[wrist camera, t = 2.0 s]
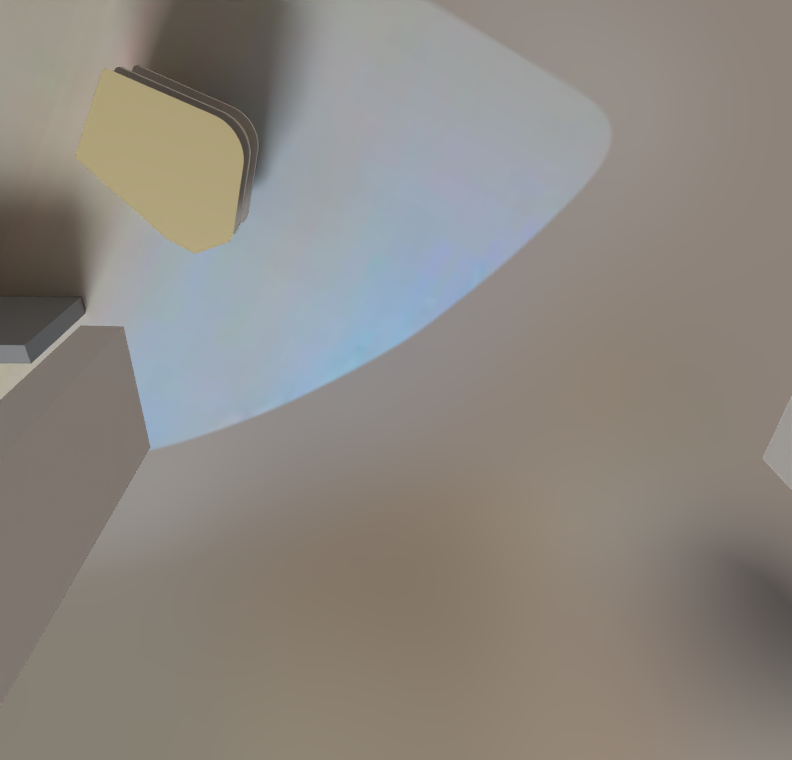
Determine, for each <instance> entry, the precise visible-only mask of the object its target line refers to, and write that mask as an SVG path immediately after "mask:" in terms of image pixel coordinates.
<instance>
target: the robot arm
mask: <svg viewBox="0 0 792 760" xmlns="http://www.w3.org/2000/svg"><path fill="white" fill-rule="evenodd" d="M149 449H150V444H149V439H148V435H147V430H146V426H145V421H144V417H143V412H142V408H141V403H140V399H139V394H138V390H137V385H136V381H135V376H134V372H133V367H132V363H131V358H130V354H129V349H128V345H127V340H126V336H125V331H124V327H115V326H80V327H79V328H78V329H77V330H76V331H74V332H73V333H72V334H71V335H70V336H69V337H68V338H67V339H66V340H65V341H64V342H63V343H61V344H60V345H59V346H58V347H57V348H56V349H55V350H54V351H53V352H52V353H51V354H50V355H49V356H47V357H46V358H45V359H44V360H43V361H42V362H41V363H40V364H39V365H38V366H37V367H36V368H34V369H33V370H32V371H31V372H30V373H29V374H28V375H27V376H26V377H25V378H24V379H23V380H21V381H20V382H19V383H18V384H17V385H16V386H15V387H14V388H13V389H12V390H11V391H10V392H8V393H7V394H6V395H5V396H4V397H3V398H2V399H1V400H0V707H1V705H2V703H3V702H4V700H5V698H6V696H7V695H8V693H9V691H10V689H11V688H12V686H13V684H14V682H15V681H16V679H17V677H18V675H19V674H20V672H21V670H22V668H23V667H24V665H25V663H26V661H27V660H28V658H29V656H30V655H31V653H32V651H33V650H34V648H35V646H36V644H37V642H38V641H39V639H40V637H41V636H42V634H43V632H44V630H45V628H46V627H47V625H48V624H49V622H50V620H51V618H52V616H53V615H54V613H55V611H56V610H57V608H58V606H59V604H60V603H61V601H62V599H63V598H64V596H65V594H66V592H67V590H68V589H69V587H70V585H71V584H72V582H73V580H74V579H75V577H76V575H77V573H78V571H79V569H80V568H81V566H82V564H83V563H84V561H85V559H86V558H87V556H88V554H89V552H90V551H91V549H92V547H93V546H94V544H95V542H96V540H97V539H98V537H99V535H100V533H101V532H102V530H103V528H104V527H105V525H106V523H107V521H108V520H109V518H110V516H111V514H112V513H113V511H114V509H115V507H116V506H117V504H118V502H119V501H120V499H121V497H122V495H123V493H124V492H125V490H126V488H127V487H128V485H129V483H130V481H131V480H132V478H133V476H134V474H135V473H136V471H137V469H138V468H139V466H140V464H141V462H142V461H143V459H144V457H145V455H146V454H147V452H148V450H149ZM763 460H765V462H766V463H767V464H768V465H769V466H770V467H771V468H772V469H773V471H774V472H775V473H776V474H777V475H778V476H779V477H780V478H781V479H782V480H783V481H784V482H785V483H786V484H787V486H789V488H790V489H791V490H792V397H791V398H790V401H789V403H788V405H787V407H786V409H785V411H784V414H783V416H782V418H781V420H780V422H779V424H778V426H777V428H776V431H775V433H774V435H773V437H772V439H771V441H770V443H769V445H768V448H767V450H766V452H765V454H764V456H763Z"/></svg>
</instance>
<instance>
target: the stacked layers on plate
mask: <svg viewBox="0 0 792 760" xmlns="http://www.w3.org/2000/svg"><path fill="white" fill-rule="evenodd" d="M258 150H259V142H258V136H257V133H256V130H255V128H254V126H253V124H252V123H251V121H250V120H249V118H248V117H247V116H246V115H245V114H244V113H243V112H241V111H240V110H238V109H237V108H235V107H233V106H231V105H228V104H226V103H224V102H222V101H219V100H217V99H215V98H213V97H210V96H208V95H206V94H203V93H201V92H199V91H197V90H194V89H192V88H190V87H188V86H185V85H183V84H181V83H179V82H176V81H174V80H172V79H169V78H167V77H165V76H163V75H160V74H158V73H156V72H154V71H151V70H149V69H147V68H145V67H142V66H140V65H136V66H134V67H133V70H132V71H130V70H128V69H125V68H123V67H117V68H116V69H115V71H111V70H109V69H106V68H105V69H103V70H102V73H101V76H100V79H99V82H98V85H97V88H96V91H95V95H94V98H93V101H92V104H91V107H90V110H89V114H88V117H87V120H86V123H85V126H84V129H83V133H82V136H81V139H80V142H79V145H78V148H77V151H76V158H77V160H79V161H80V162H81V163H82V164H83V165H84V166H85V167H86V168H88V169H89V170H90V171H91V172H92V173H93V174H94V175H95V176H97V177H98V178H99V179H100V180H101V181H102V182H103V183H104V184H106V185H107V186H108V187H109V188H110V189H111V190H112V191H113V192H115V193H116V194H117V195H118V196H119V197H120V198H121V199H122V200H124V201H125V202H126V203H127V204H128V205H129V206H130V207H131V208H133V209H134V210H135V211H136V212H137V213H138V214H139V215H140V216H142V217H143V218H144V219H145V220H146V221H147V222H148V223H149V224H151V225H152V226H153V227H154V228H155V229H156V230H157V231H158V232H160V233H161V234H162V235H163V236H164V237H165V238H167V239H168V240H170V241H172V242H174V243H176V244H178V245H180V246H182V247H183V248H185V249H187V250H189V251H191V252H193V253H199V252H201V251H204V250H207V249H210V248H213V247H216V246H219V245H222V244H224V243H227V242H229V241H230V240H231V238H232V235H233V234H235V233H236V232H237V230H238V228H239V226H240V223H242V222H244V221H245V219H246V217H247V215H248V213H249V207H250V200H251V194H252V188H253V182H254V175H255V169H256V163H257V156H258Z"/></svg>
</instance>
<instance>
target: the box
mask: <svg viewBox="0 0 792 760" xmlns="http://www.w3.org/2000/svg"><path fill="white" fill-rule="evenodd" d="M84 314H85V310H84V306H83V303H82V299H81V297H24V296H0V363H29V364H31V363H32V362H33V361H34V360H35V359H36V358H37V357H39V356H40V355H41V354H42V353H43V352H44V351H45V350H46V349H47V348H48V347H49V346H50V345H52V344H53V343H54V342H55V341H56V340H57V339H58V338H59V337H60V336H61V335H62V334H64V333H65V332H66V331H67V330H68V329H69V328H70V327H71V326H72V325H73V324H74V323H75V322H77V321H78V320H79V319H80V318H81V317H82V316H83V315H84Z"/></svg>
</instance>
